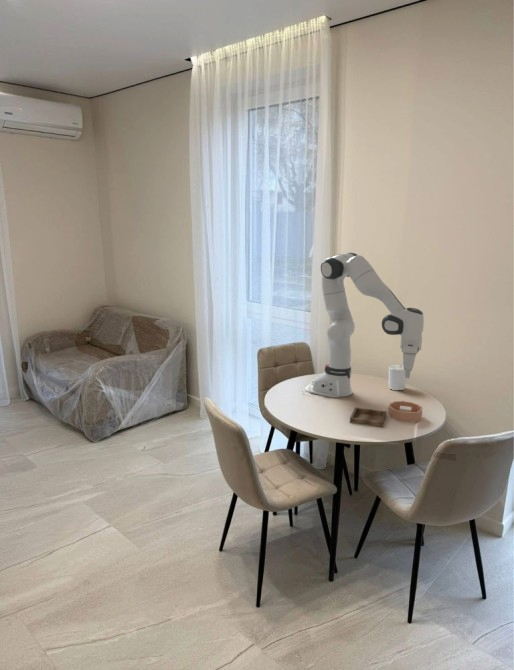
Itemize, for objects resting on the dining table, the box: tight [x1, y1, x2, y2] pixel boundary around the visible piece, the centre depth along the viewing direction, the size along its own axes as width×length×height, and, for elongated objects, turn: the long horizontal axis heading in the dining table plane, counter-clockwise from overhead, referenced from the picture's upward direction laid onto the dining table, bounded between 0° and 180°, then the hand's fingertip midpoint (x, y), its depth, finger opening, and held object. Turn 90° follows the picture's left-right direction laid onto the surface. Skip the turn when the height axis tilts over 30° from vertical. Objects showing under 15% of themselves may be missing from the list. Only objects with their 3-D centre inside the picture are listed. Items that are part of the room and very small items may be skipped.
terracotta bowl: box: [387, 400, 423, 424], centre depth 223 cm, size 15×15×5 cm
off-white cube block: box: [400, 406, 412, 412], centre depth 223 cm, size 5×4×4 cm
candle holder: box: [388, 364, 407, 391], centre depth 261 cm, size 10×10×12 cm
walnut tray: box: [349, 407, 387, 428], centre depth 218 cm, size 14×14×3 cm
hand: (408, 374), depth 219 cm, fingers open, 8 cm apart
